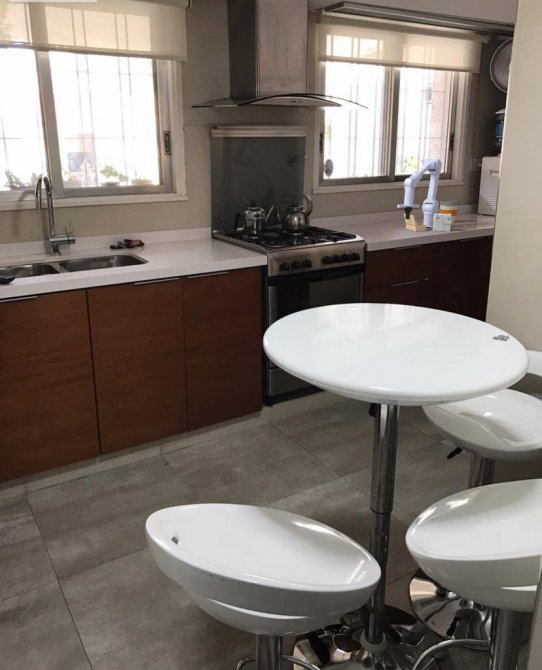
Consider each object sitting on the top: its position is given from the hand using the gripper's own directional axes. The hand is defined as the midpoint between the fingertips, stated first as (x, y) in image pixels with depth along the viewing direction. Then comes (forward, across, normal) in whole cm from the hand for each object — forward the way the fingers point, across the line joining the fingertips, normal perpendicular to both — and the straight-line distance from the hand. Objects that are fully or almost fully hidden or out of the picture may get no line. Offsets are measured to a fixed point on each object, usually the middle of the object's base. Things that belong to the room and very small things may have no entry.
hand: (407, 219), depth 384 cm
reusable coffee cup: (+6, +48, +28) cm, 56 cm away
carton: (+7, +7, 0) cm, 10 cm away
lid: (0, +2, 0) cm, 2 cm away
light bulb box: (+7, +22, -7) cm, 24 cm away
